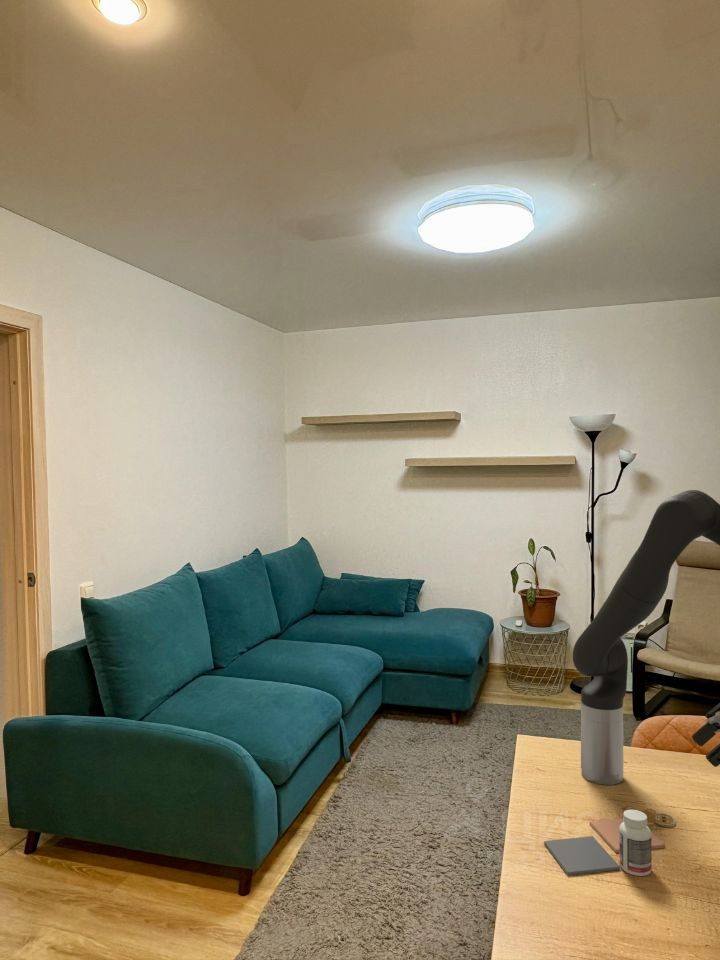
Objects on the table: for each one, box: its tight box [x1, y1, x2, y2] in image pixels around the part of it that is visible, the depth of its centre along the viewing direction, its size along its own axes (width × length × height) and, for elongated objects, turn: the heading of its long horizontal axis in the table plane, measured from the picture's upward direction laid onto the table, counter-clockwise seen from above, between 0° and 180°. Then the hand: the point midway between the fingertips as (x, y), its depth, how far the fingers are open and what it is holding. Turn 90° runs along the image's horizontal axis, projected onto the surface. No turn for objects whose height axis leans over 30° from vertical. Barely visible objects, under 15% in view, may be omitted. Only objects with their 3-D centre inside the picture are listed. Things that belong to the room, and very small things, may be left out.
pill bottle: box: [618, 809, 653, 877], centre depth 121 cm, size 5×5×10 cm
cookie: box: [622, 806, 677, 830], centre depth 137 cm, size 8×1×10 cm
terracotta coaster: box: [589, 817, 666, 854], centre depth 131 cm, size 10×10×1 cm
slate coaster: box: [543, 835, 621, 876], centre depth 125 cm, size 10×10×1 cm
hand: (702, 751), depth 118 cm, fingers open, 8 cm apart
